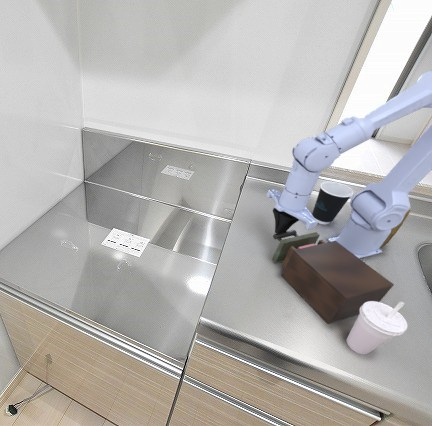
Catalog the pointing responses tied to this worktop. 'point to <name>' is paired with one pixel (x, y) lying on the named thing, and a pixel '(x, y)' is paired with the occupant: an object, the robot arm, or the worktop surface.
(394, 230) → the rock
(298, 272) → the cabinet
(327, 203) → the dixie cup
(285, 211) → the robot arm
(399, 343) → the worktop surface
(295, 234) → the drawer
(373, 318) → the smoothie
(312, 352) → the worktop surface
